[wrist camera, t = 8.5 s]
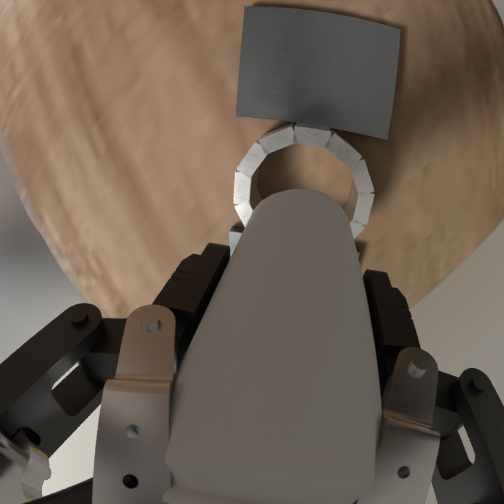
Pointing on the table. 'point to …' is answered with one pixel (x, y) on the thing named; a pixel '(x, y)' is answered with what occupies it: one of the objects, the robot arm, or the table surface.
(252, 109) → the hinge model
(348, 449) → the beverage can
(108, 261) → the table surface
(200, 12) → the table surface
